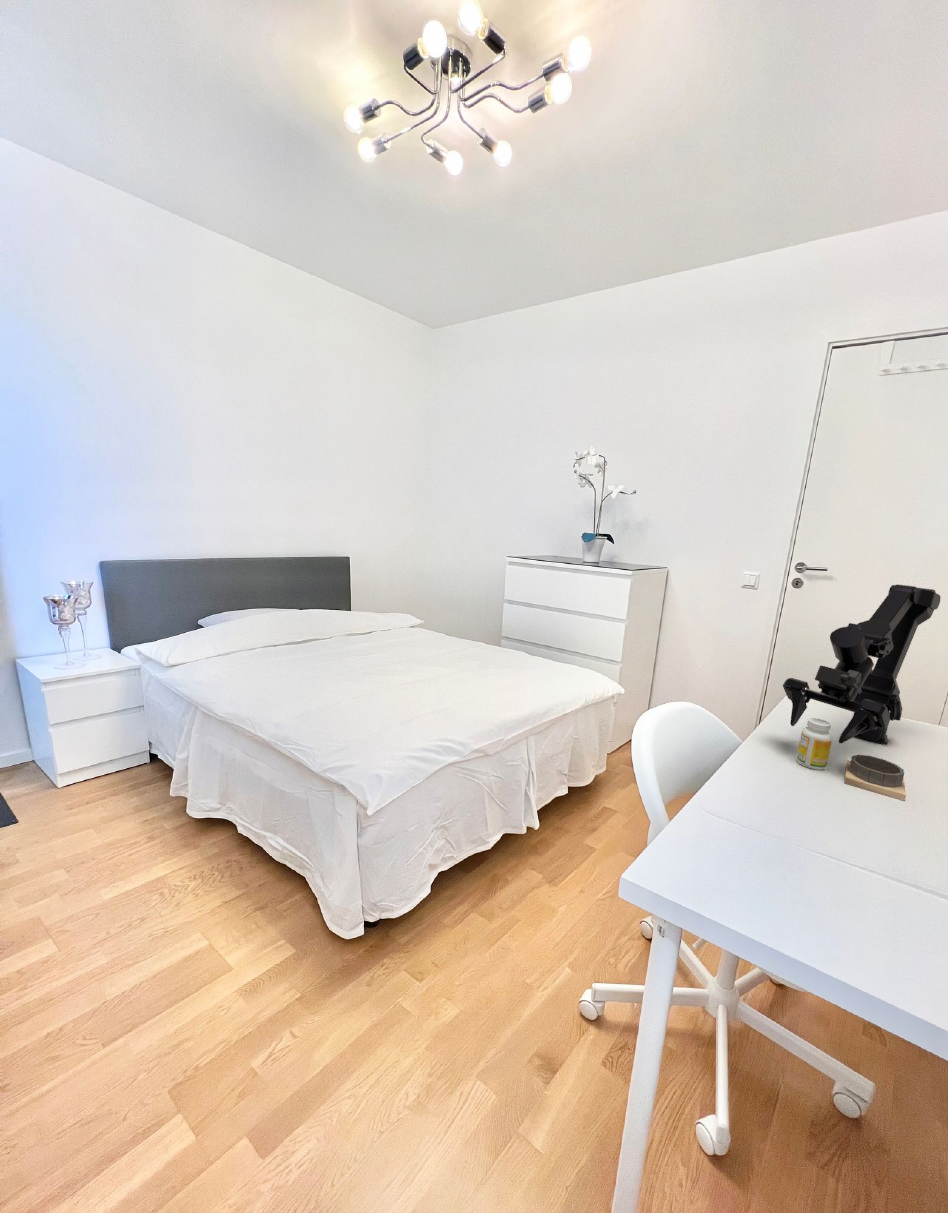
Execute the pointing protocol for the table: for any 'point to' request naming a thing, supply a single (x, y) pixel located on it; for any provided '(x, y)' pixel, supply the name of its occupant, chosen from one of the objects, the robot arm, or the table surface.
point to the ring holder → (876, 776)
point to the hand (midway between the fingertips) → (814, 733)
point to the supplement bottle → (815, 744)
